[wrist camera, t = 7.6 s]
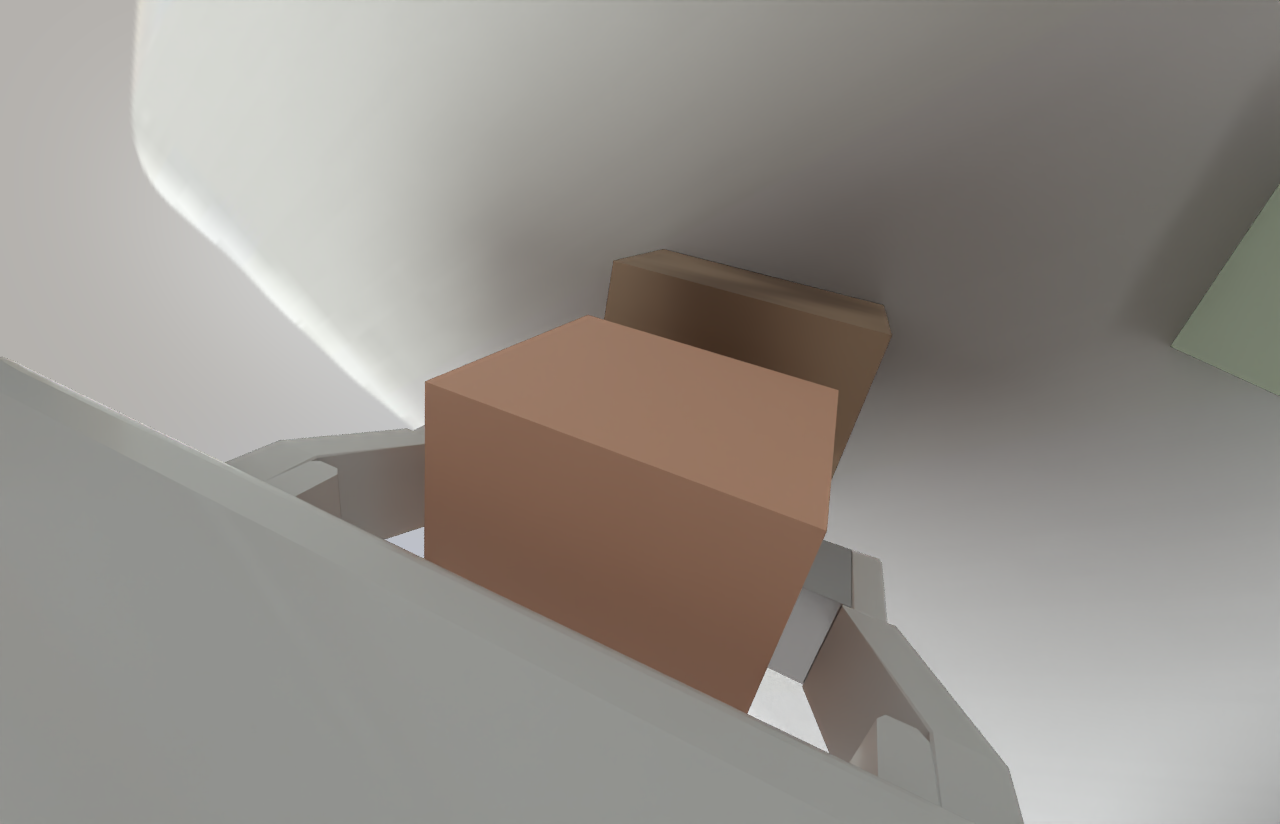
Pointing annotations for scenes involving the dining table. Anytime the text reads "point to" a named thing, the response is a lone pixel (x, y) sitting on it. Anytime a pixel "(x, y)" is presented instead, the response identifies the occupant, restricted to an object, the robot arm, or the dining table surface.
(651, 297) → the walnut base
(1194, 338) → the sage block
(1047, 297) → the dining table surface
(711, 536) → the terracotta block
